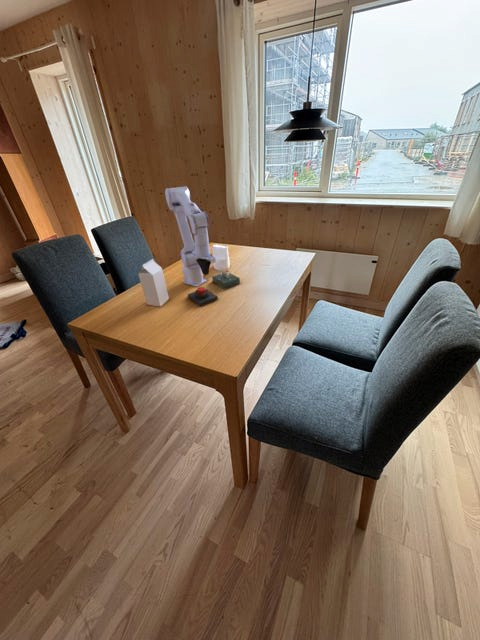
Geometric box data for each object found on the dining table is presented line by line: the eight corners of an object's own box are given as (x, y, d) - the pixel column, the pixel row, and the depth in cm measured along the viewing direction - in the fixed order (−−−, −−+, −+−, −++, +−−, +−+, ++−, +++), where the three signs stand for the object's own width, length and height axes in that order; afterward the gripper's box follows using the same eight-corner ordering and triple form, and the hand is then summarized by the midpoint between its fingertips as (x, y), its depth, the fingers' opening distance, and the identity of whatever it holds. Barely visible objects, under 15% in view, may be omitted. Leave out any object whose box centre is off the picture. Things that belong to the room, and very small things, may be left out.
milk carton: (169, 299, 120) (160, 259, 110) (160, 306, 115) (150, 265, 104) (156, 297, 123) (145, 258, 112) (146, 304, 117) (135, 264, 107)
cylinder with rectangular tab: (232, 265, 150) (231, 245, 144) (223, 271, 144) (221, 250, 138) (220, 263, 155) (218, 242, 148) (210, 268, 148) (208, 247, 142)
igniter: (188, 297, 121) (186, 290, 119) (204, 291, 125) (204, 284, 123) (200, 306, 113) (199, 299, 112) (217, 299, 118) (216, 292, 116)
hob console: (212, 281, 134) (212, 276, 132) (227, 276, 138) (226, 271, 136) (225, 289, 126) (224, 283, 124) (239, 283, 131) (239, 277, 129)
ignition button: (196, 292, 118) (195, 288, 117) (203, 289, 120) (202, 286, 119) (200, 295, 116) (199, 291, 115) (207, 292, 117) (206, 288, 116)
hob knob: (221, 276, 132) (221, 268, 129) (224, 275, 132) (223, 268, 130) (227, 279, 128) (226, 271, 126) (229, 278, 129) (229, 270, 127)
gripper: (184, 242, 112) (189, 272, 119) (204, 250, 103) (208, 281, 110) (198, 238, 116) (202, 267, 123) (218, 245, 106) (221, 276, 114)
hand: (205, 274), depth 117 cm, fingers closed
